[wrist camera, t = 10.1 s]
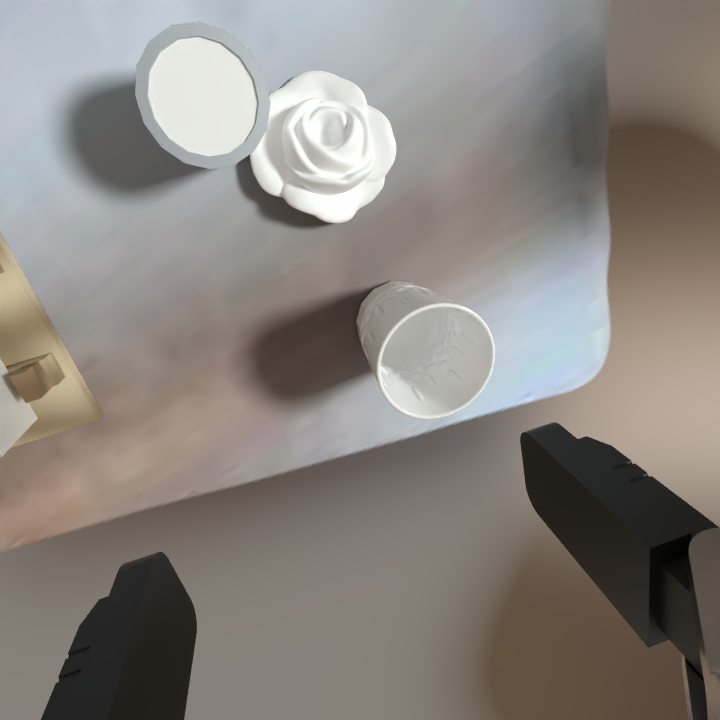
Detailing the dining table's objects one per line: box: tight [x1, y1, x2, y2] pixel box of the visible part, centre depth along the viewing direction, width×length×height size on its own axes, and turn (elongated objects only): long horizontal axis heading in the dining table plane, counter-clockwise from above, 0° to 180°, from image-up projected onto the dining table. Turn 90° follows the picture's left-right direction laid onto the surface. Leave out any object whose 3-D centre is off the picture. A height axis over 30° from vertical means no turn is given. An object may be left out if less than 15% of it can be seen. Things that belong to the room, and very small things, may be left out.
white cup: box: [356, 281, 495, 419], centre depth 34 cm, size 8×8×10 cm
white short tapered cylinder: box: [135, 22, 271, 169], centre depth 28 cm, size 7×7×7 cm
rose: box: [250, 71, 396, 223], centre depth 31 cm, size 10×4×10 cm
